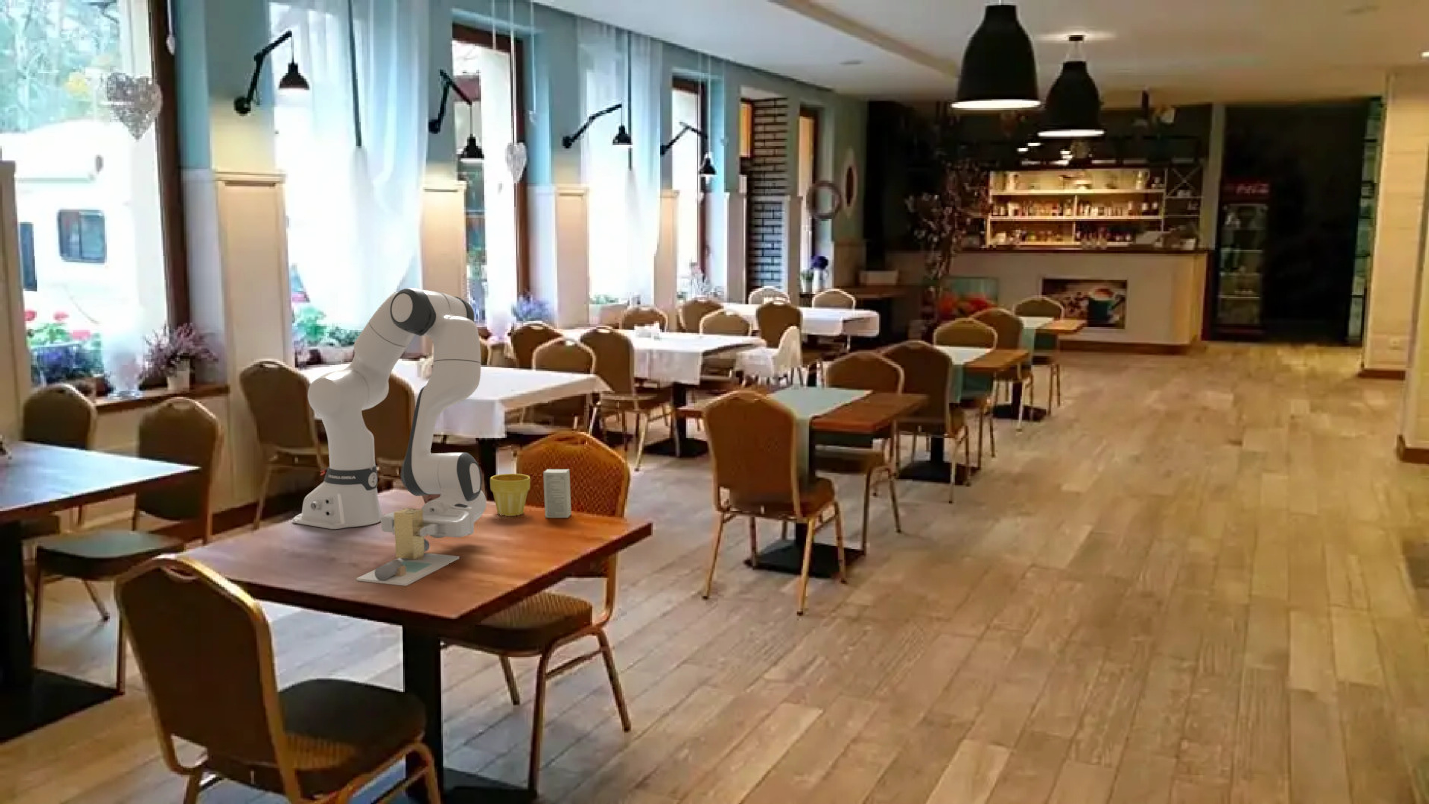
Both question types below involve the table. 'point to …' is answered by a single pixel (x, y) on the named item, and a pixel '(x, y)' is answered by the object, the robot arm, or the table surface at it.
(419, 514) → the block
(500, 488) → the plant pot
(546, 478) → the skincare box
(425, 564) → the white flat board
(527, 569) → the table surface
